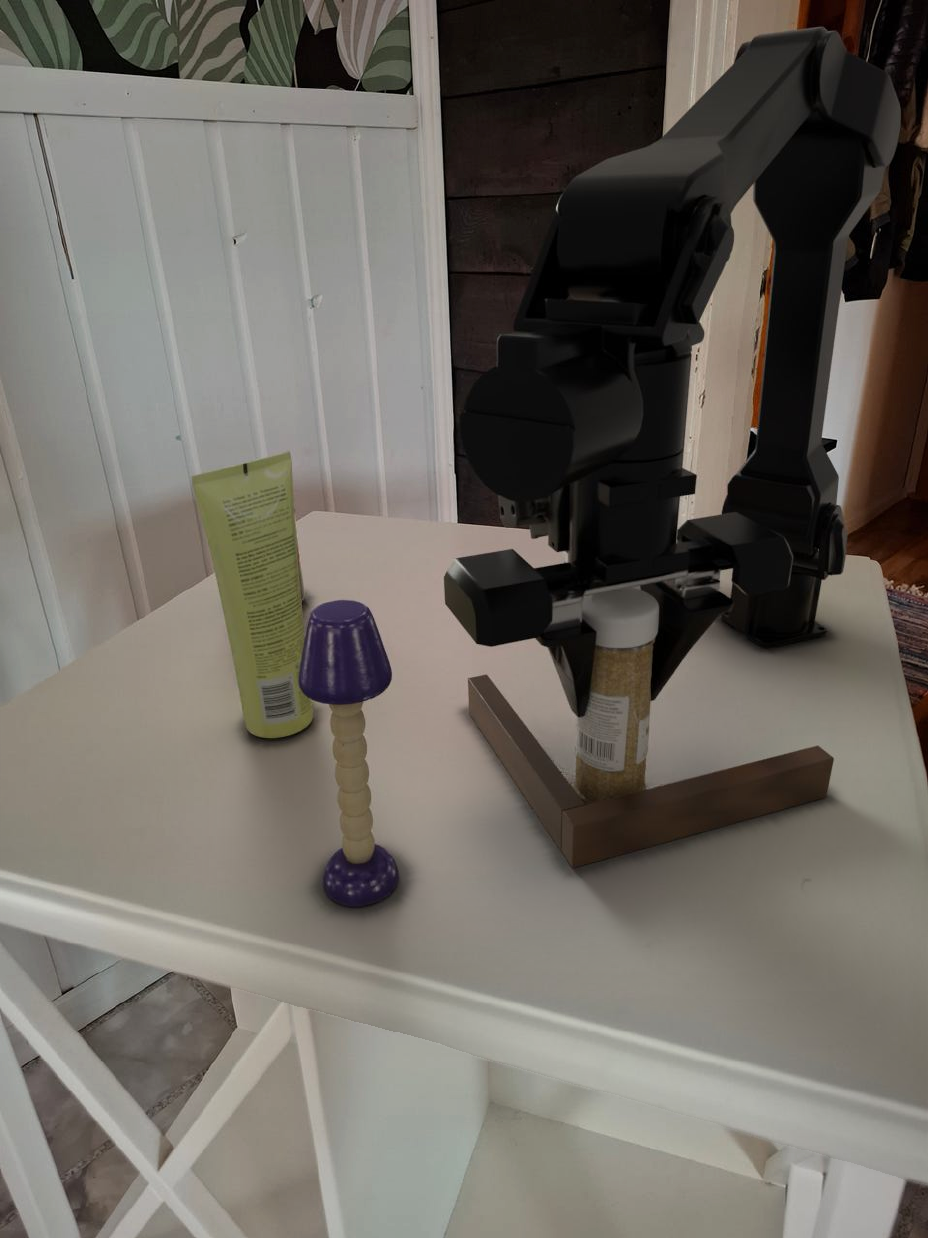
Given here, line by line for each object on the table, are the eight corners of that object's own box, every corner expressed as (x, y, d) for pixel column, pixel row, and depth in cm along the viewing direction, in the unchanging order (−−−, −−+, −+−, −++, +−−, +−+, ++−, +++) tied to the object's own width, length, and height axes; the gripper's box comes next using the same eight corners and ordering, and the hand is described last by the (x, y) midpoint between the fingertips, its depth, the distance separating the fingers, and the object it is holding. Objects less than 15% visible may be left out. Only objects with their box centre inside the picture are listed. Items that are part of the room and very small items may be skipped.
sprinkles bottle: (661, 798, 53) (677, 602, 47) (605, 827, 51) (615, 625, 45) (610, 762, 57) (620, 576, 51) (556, 788, 55) (560, 596, 49)
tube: (255, 700, 66) (214, 450, 57) (321, 699, 66) (290, 448, 57) (237, 742, 61) (189, 475, 52) (308, 741, 61) (272, 473, 52)
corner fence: (675, 668, 69) (679, 635, 67) (827, 797, 54) (834, 757, 52) (468, 713, 64) (467, 677, 62) (571, 869, 49) (573, 827, 47)
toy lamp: (332, 848, 51) (299, 590, 44) (410, 847, 51) (391, 589, 43) (317, 908, 47) (278, 634, 39) (402, 908, 46) (380, 633, 39)
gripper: (696, 396, 54) (677, 621, 61) (407, 431, 48) (423, 672, 55) (818, 439, 44) (778, 699, 51) (475, 488, 39) (483, 770, 46)
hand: (613, 705), depth 51 cm, fingers closed on sprinkles bottle, 4 cm apart
